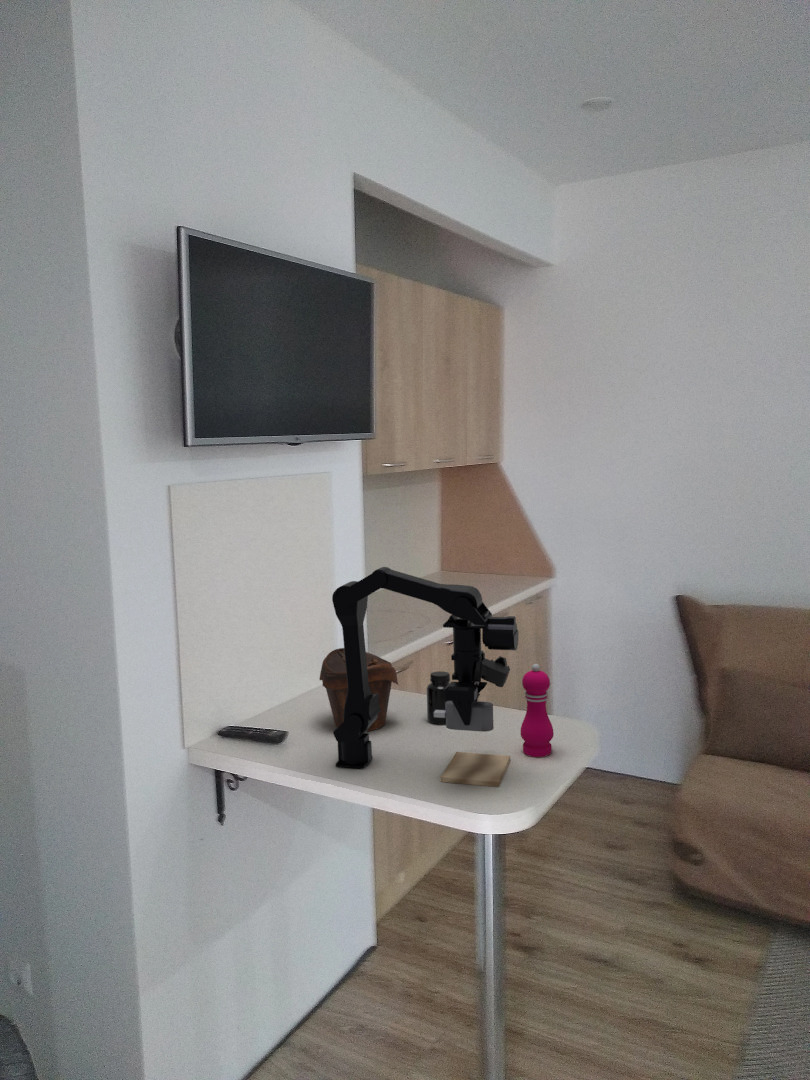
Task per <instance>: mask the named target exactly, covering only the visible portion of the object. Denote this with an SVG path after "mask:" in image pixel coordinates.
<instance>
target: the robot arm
mask: <svg viewBox="0 0 810 1080" xmlns="http://www.w3.org/2000/svg"><path fill="white" fill-rule="evenodd" d="M380 589H384V590H388V591H391V592H394V593H397V594H401V595H405V596H407V597H411V598H414V599H417V600H421V601H425V602H428V603H432V604H433V605H435V606H438V607H439V608H440V609H442V610H443V611H444V612H446V613H448V614H450V616H449V618H448V619H447V620H446V621H444V623H443V624H442V627H443V628H445V629H446V628H449V629H452V636H453V637H452V641H453V644H452V645H453V653H452V654H451V658H450V659H451V661H453V673H452V675H451V680H452V681H450V682H449V683H450V684H449V685H448V686H447V687H446V688H445V689H444V691H443V692H444V700H446V701H452V702H453V704H454V706H455V707H456V709H457V711H458V713H459V715H460V717H461V719H462V721H463V723H464V725H470V721H471V714H472V707H473V702H474V701H479V697H480V696H481V694H480V693H481V692H482V691H483V690H484V689H485V687H486V686H487V684H488V682H489V683H490V684H493V685H495V686H496V687H499V688H503V687H504V685H505V684H506V681H507V679H508V677H509V674H510V671H511V668H510V666H509V665H508V663H507V662H508V661H507V658H506V657H504V656H500V655H499V656H498V657H497V658H496V659H495V660H494V659H487V658H486V653H485V652H484V650H482V643H483V645H484V647H485V648H487V649H488V650H490V651H495V650H497V651H517V650H518V647H519V629H518V623H517V622H516V621H517V620H516V618H517V617H516V616H515V615H514V616H493V613H492V612H491V611H490V609H489V608H488V607H487V605H486V604H485V603H484V602H483V596H482V593H481V592H480V590H479V589H478V588H476V587H474V586H471V585H465V584H446V583H445V584H444V583H438V582H435V581H431V580H428V579H426V578H421V577H417V576H415V575H412V574H408V573H404V572H401V571H399V570H394V569H391V568H390V567H388V566H382V567H381V566H380V567H379V568H377V569H375V570H373V571H372V573H370V574H369V575H367V576H366V577H364V578H361V579H360V580H358V581H355V580H352V581H349V582H347V583H345V584H342V585H341V586H338V587H337V588H336V589H335V590H334V592H333V593H332V596H331V597H332V598H331V599H332V600H331V601H332V604H333V608H334V613H335V616H336V617H337V619H338V621H339V623H340V626H341V628H342V629H341V630H342V639H343V648H344V652H345V663H346V674H347V685H348V693H347V697H346V701H345V705H344V716H343V723H342V724H341V725H340V726H339V727H338V728H337V727H336V729H334V730H333V736H334V738H335V741H336V742H337V758H338V760H337V762H336V763H335V766H336V767H341V768H353V769H364V768H366V766H367V765H368V764H369V763H370V761H372V759H373V757H374V756H373V751H372V748H373V747H372V746H373V745H372V740H370V733H368V731H367V730H369V728H370V725H371V724H372V723H373V722H374V721H375V720H376V719H377V717H378V713H379V712H380V711H381V709H380V707H379V694H378V693H377V694H372V692H371V690H370V688H369V684H368V672H367V661H366V652H367V650H366V640H365V639H366V638H365V628H364V621H365V618H366V614H367V611H368V610H367V609H368V600H369V599H368V597H369V596H370V595H372V594H374V593H375V592H377V591H378V590H380ZM482 680H483V681H482Z"/></svg>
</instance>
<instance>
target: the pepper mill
mask: <svg viewBox="0 0 810 1080" xmlns="http://www.w3.org/2000/svg"><path fill="white" fill-rule="evenodd" d="M521 684H522V687H523V690H525V692H524V699H525V700H526V712H525V716H524V718H523V721H522V723H521V726H520V737H521V738H522V740H523V741H524V742H523V743H522V752H523V754H525V755H526V756H528V757H534V758H543V757H547V756H549V755H551V754H552V750H553V749H552V747H553V746H552V743H551V741H552V739H553V738H554V727H553V724H552V722H551V720H550V718H549V715H548V711H547V705H546V704H547V700H548V699H549V696H548V695H549V693H548V689H550V686H551V682H550V677H549V675H548V674H547V673H546V672H544V670H543V671H542V670H541V667H540V665H539V664H538V663H534V664H532V665H531V670H530V671H527V672H526V673H525V674H524V675H523V677H522V683H521Z"/></svg>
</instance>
